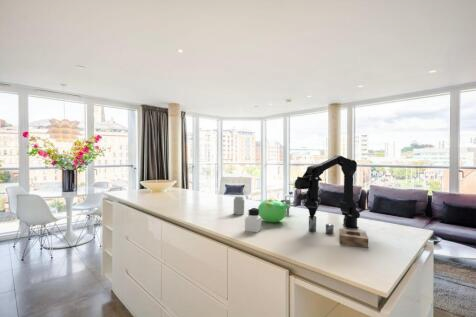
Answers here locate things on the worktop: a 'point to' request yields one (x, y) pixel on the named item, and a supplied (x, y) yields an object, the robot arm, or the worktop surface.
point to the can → (238, 206)
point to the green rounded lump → (272, 210)
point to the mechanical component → (287, 204)
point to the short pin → (329, 228)
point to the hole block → (353, 238)
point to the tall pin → (312, 224)
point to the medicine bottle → (253, 220)
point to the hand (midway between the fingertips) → (312, 216)
